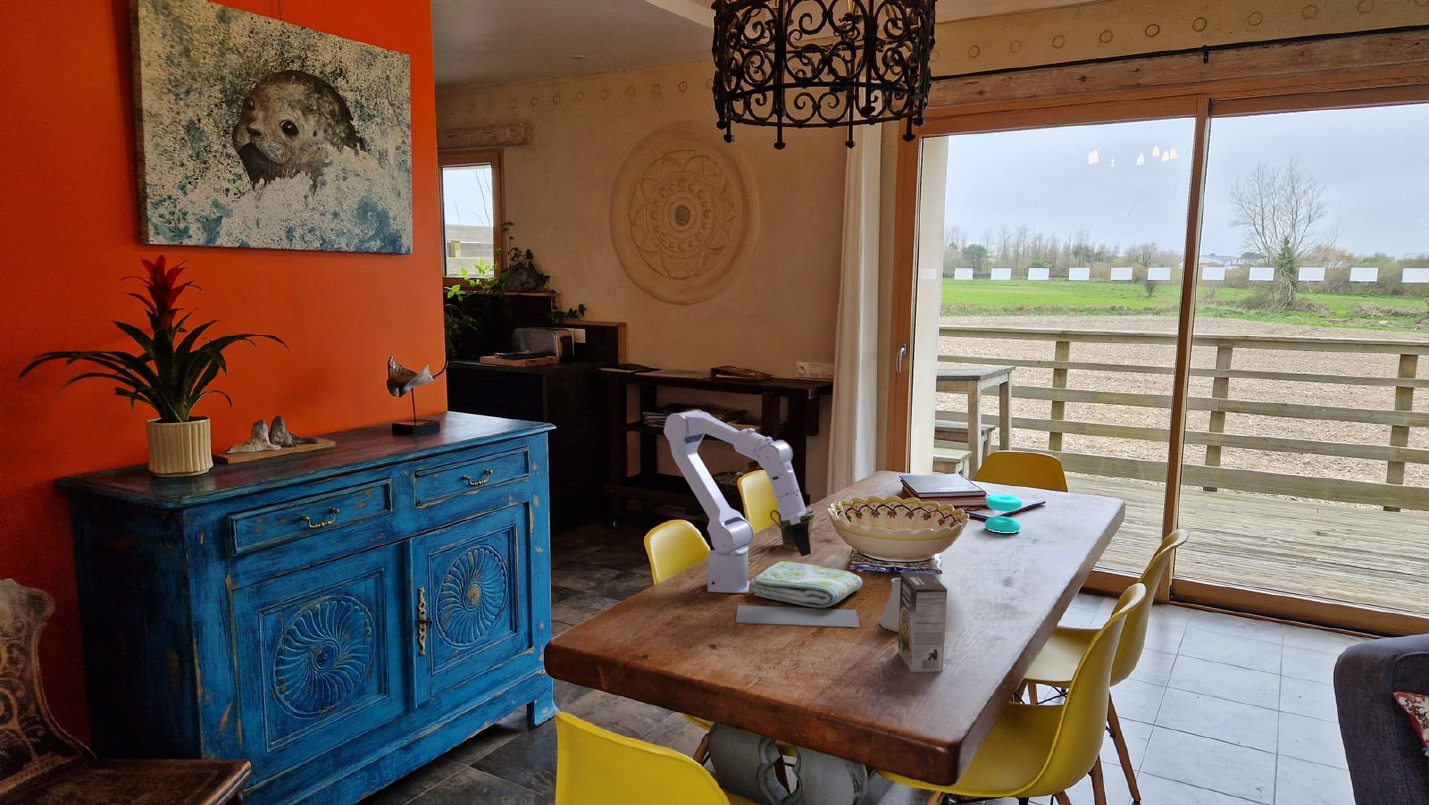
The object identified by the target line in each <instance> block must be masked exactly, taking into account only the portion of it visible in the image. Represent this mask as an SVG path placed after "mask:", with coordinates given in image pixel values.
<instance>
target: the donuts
mask: <svg viewBox="0 0 1429 805" xmlns="http://www.w3.org/2000/svg"><path fill="white" fill-rule="evenodd" d="M1022 503H1023V502H1022V500H1021V499H1020V498H1019V497H1017V496H1014V495H1010V494H992V495H991V494H990V495H988V497H986V500H985V504H986V505H987V506H988V507H989V508H990V509H991V510H994V511H998V512H1004V513H1005V512H1007V513H1009V512H1015V511H1018V510H1019V509H1020V508H1021V507H1022V506H1023V504H1022ZM985 527H987V528H988V529H991V530H994V531H1000V532H1014V531H1018V530H1019V529H1020V530H1021V524H1020V523H1019V521H1018V520H1016V519H1014V518H1012V517H1008V516H1000V515H999V516H998V515H997V516H996V515H995V516H991V517H989V518H987V519H986V520H985V522H984V528H985ZM1020 530H1019V531H1020ZM1019 531H1018V532H1019Z"/></svg>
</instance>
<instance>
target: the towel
mask: <svg viewBox="0 0 1429 805" xmlns="http://www.w3.org/2000/svg"><path fill="white" fill-rule="evenodd" d="M749 581H750V584H749V586H750V589H751V591H752V592H753V593H754V596H757V597H760V598H765V599H770V600H774V601H778V602H779V601H780V602H785V603H790V604H793V605H794V604H795V605H800V606H804V607H808V608H819V609H826V608H828V607H829V608H830V607H831V606H834V605H836V604H838V603H839V602H841V601H843V599H845V598H847V596H849V595H850V594H853V593H855V592H856V591H857V590H859V589H860V588H861V587H862V586H863V579H862V578H861V577H860V576H858V574H857V575H856V574H855V573H853V572H851V571H847V570H843V569H838V568H830V567H829V568H828V567H823V566H819V565H814V564H807V563H800V562H793V561H784V560H783V561H782V560H781V561H778V562H777V563H774V564H772V565H771V566H769V567H768V568H766V569H765V570H764V571H762V572H761V573H759V574H758V575H756V576H754V577H753V578H751V580H749Z"/></svg>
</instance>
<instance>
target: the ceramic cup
mask: <svg viewBox="0 0 1429 805" xmlns="http://www.w3.org/2000/svg"><path fill="white" fill-rule="evenodd" d="M805 508H806V509H809V508H810V507H805ZM811 510H812V511H811V512H808V513H806V514H804V515H802V516H801V519H804V518H809V527H808V534H809V540H811V535H812V530H813V526H814V523H815V522H814V521H815V514H816V512H815V510H814V509H812V508H811ZM773 513H776V514H777V515H778V520H779V521H777V520H776V519H775V518H774V517H773ZM769 516H770V518H771V520H772V521H773V522H774V523H775V525H776V526H777V527H778V528H779V529H780V532H781V538H782V547H784V549H786V550H792V551H798V549H797V547H796V545H795V543H794V541H793V539H792V538H791V537H790V535H789V534H788V533H787V532H786V531H785V530H784V527H785V526H786V525H788V524H791V522H790V520H785V521H781V515H780V511H779V509H772V510H771V511H770V513H769ZM801 519H800V520H801Z"/></svg>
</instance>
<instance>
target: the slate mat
mask: <svg viewBox="0 0 1429 805" xmlns="http://www.w3.org/2000/svg"><path fill="white" fill-rule="evenodd" d="M735 616H736V617H735V624H748V625H749V624H753V625H772V626H773V625H775V626H777V625H779V626H780V625H781V626H800V627H801V626H802V627H803V626H805V627H824V628H825V627H826V628H827V627H828V628H847V627H853V628H855V629H860V621H859V617H858V612H857V610H856V609H842V608H841V609H839V608H837V609H836V608H815V607H792V606H790V607H788V606H765V605H763V606H761V605H741V604H740V605H737V609H736V615H735Z"/></svg>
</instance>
